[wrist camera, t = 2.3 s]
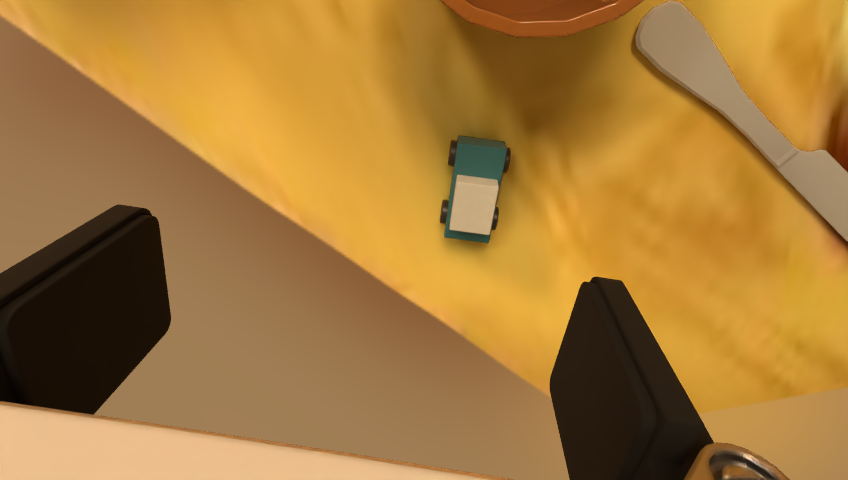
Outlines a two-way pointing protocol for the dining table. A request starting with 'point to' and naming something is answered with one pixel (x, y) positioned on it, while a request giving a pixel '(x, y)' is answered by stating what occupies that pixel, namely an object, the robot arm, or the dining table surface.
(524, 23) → the tumbler
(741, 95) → the butter knife
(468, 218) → the toy car
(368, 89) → the dining table surface
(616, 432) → the robot arm
